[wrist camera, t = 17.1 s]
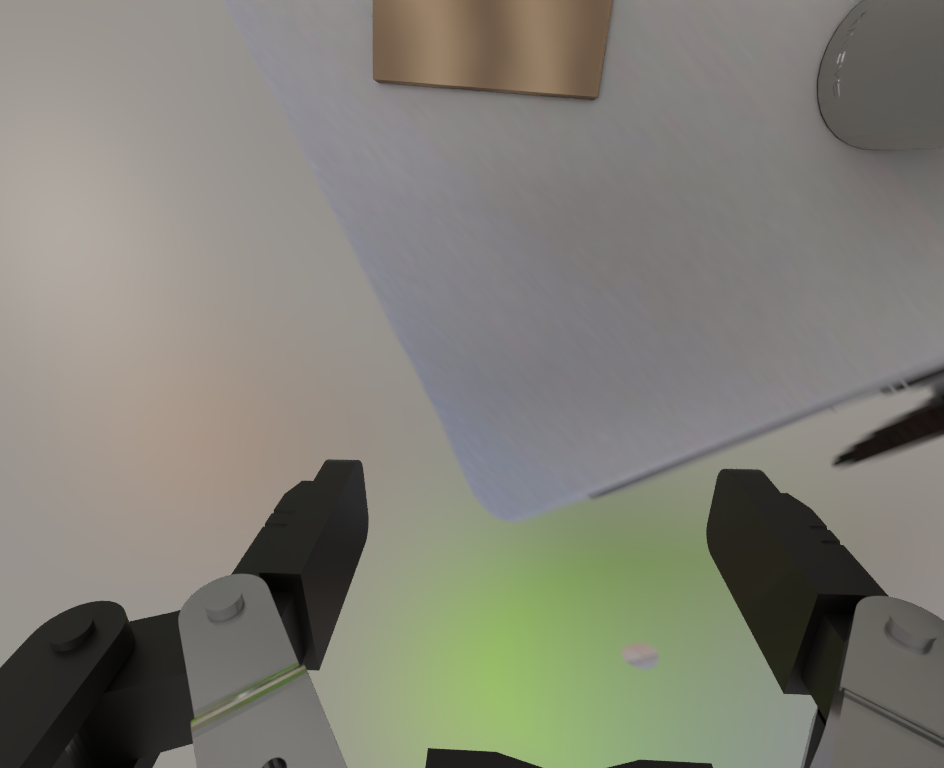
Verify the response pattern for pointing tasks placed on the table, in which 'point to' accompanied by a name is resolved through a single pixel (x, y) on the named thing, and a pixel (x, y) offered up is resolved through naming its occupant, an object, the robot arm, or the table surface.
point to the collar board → (492, 45)
